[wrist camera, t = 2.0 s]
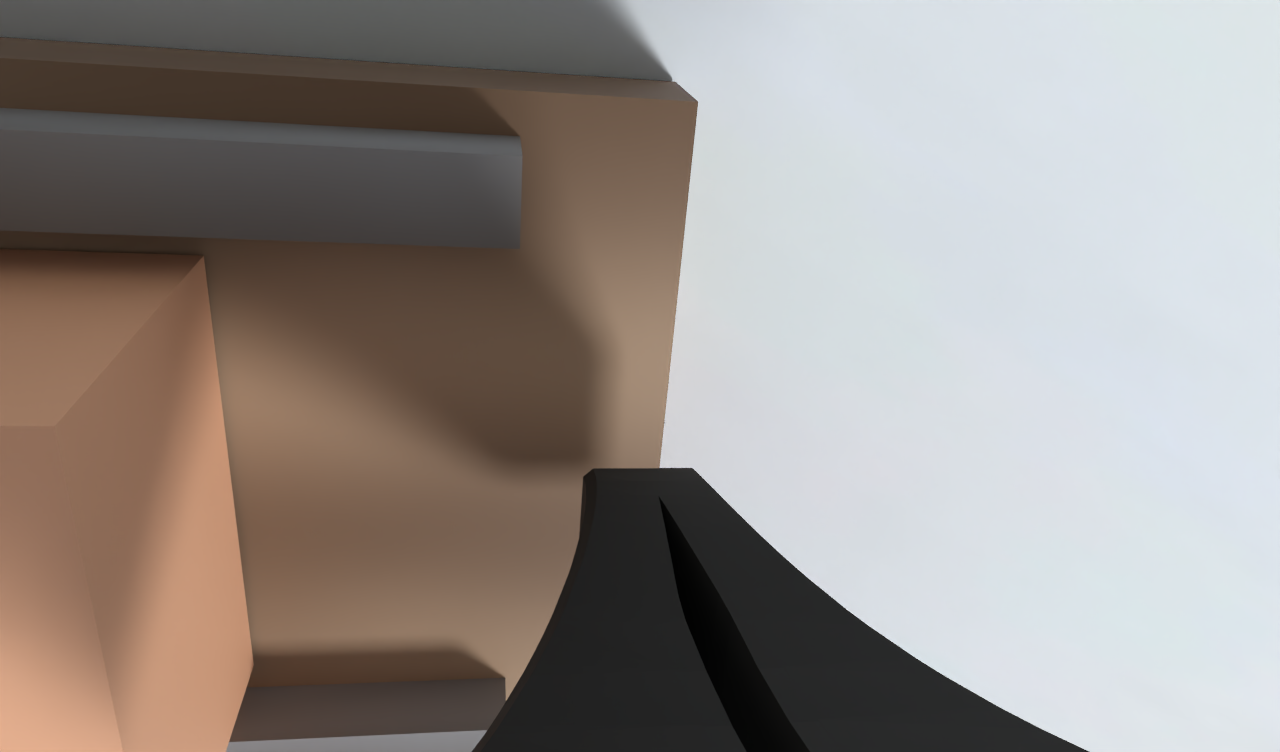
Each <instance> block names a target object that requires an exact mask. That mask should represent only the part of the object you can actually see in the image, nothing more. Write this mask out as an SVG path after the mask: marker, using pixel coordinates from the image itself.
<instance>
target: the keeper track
mask: <svg viewBox="0 0 1280 752" xmlns="http://www.w3.org/2000/svg"><path fill="white" fill-rule="evenodd" d="M697 107H698V101H697V100H695V99H694V98H693V97H692V96H691V95H690V94H689V93H687V92H686V91H685V90H684V89H683V88H682V87H681V86H680V85H678V84H677V83H676V82H671V81H656V80H641V79H626V78H611V77H596V76H580V75H565V74H550V73H535V72H520V71H505V70H490V69H474V68H459V67H444V66H429V65H414V64H399V63H384V62H369V61H353V60H338V59H323V58H308V57H293V56H278V55H263V54H247V53H232V52H217V51H202V50H187V49H172V48H157V47H141V46H126V45H111V44H96V43H81V42H66V41H51V40H35V39H20V38H5V37H0V249H19V250H49V251H80V252H111V253H141V254H172V255H202V256H204V262H205V270H206V279H207V287H208V295H209V303H210V311H211V319H212V328H213V336H214V344H215V352H216V360H217V368H218V377H219V385H220V393H221V401H222V409H223V417H224V426H225V434H226V442H227V450H228V458H229V467H230V475H231V483H232V491H233V499H234V507H235V516H236V524H237V532H238V540H239V548H240V556H241V565H242V573H243V581H244V589H245V597H246V605H247V614H248V622H249V630H250V638H251V646H252V654H253V663H254V666H253V669H252V672H251V675H250V678H249V682H248V685H247V688H246V691H245V694H244V697H243V700H242V703H241V706H240V709H239V712H238V716H237V719H236V722H235V725H234V728H233V731H232V734H231V737H230V740H229V743H228V746H227V750H226V752H472V750H473V749H474V748H475V747H476V745H477V744H478V743H479V741H480V740H481V739H482V737H483V736H484V734H485V733H486V731H487V730H488V729H489V727H490V726H491V724H492V723H493V721H494V719H495V718H496V716H497V715H498V713H499V712H500V710H501V709H502V707H503V705H504V704H505V702H506V700H507V699H508V697H509V695H510V694H511V692H512V691H513V689H514V687H515V686H516V684H517V682H518V681H519V679H520V677H521V676H522V674H523V672H524V670H525V669H526V667H527V665H528V663H529V661H530V659H531V657H532V655H533V654H534V652H535V650H536V648H537V646H538V644H539V642H540V640H541V638H542V636H543V634H544V632H545V630H546V627H547V625H548V623H549V621H550V619H551V617H552V614H553V612H554V609H555V607H556V604H557V602H558V599H559V597H560V594H561V592H562V589H563V587H564V584H565V582H566V579H567V576H568V574H569V571H570V568H571V565H572V562H573V558H574V555H575V551H576V548H577V544H578V540H579V532H580V517H581V502H582V486H583V476H585V475H586V474H587V473H588V472H589V471H591V470H592V469H593V468H659V466H660V456H661V447H662V437H663V428H664V418H665V409H666V399H667V390H668V381H669V371H670V362H671V352H672V343H673V333H674V324H675V314H676V305H677V296H678V286H679V277H680V267H681V258H682V248H683V239H684V229H685V220H686V211H687V201H688V192H689V182H690V173H691V163H692V154H693V144H694V135H695V126H696V116H697Z"/></svg>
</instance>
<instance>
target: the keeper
mask: <svg viewBox="0 0 1280 752" xmlns="http://www.w3.org/2000/svg"><path fill="white" fill-rule="evenodd" d="M253 666H254V663H253V654H252V646H251V638H250V630H249V622H248V614H247V605H246V597H245V589H244V581H243V573H242V565H241V556H240V548H239V540H238V532H237V524H236V516H235V507H234V499H233V491H232V483H231V475H230V467H229V458H228V450H227V442H226V434H225V426H224V417H223V409H222V401H221V393H220V385H219V377H218V368H217V360H216V352H215V344H214V336H213V328H212V319H211V311H210V303H209V295H208V287H207V279H206V270H205V262H204V256H202V255H172V254H141V253H111V252H80V251H49V250H19V249H0V752H226V750H227V746H228V743H229V740H230V737H231V734H232V731H233V728H234V725H235V722H236V719H237V716H238V712H239V709H240V706H241V703H242V700H243V697H244V694H245V691H246V688H247V685H248V682H249V678H250V675H251V672H252V669H253Z"/></svg>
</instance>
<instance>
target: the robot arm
mask: <svg viewBox="0 0 1280 752" xmlns="http://www.w3.org/2000/svg"><path fill="white" fill-rule="evenodd" d="M472 752H1089V751H1086V750H1084V749H1082V748H1080V747H1078V746H1076V745H1074V744H1072V743H1069V742H1067V741H1065V740H1063V739H1061V738H1059V737H1057V736H1055V735H1053V734H1050V733H1048V732H1046V731H1044V730H1042V729H1040V728H1038V727H1036V726H1034V725H1032V724H1030V723H1028V722H1026V721H1024V720H1023V719H1021V718H1019V717H1017V716H1015V715H1013V714H1011V713H1009V712H1007V711H1005V710H1003V709H1001V708H999V707H998V706H996V705H994V704H992V703H991V702H989V701H987V700H985V699H984V698H982V697H980V696H978V695H977V694H975V693H973V692H971V691H970V690H968V689H966V688H964V687H963V686H961V685H959V684H957V683H956V682H954V681H952V680H950V679H949V678H947V677H945V676H943V675H942V674H940V673H939V672H937V671H935V670H934V669H932V668H931V667H929V666H927V665H926V664H924V663H922V662H921V661H919V660H918V659H916V658H915V657H913V656H912V655H910V654H909V653H907V652H906V651H904V650H903V649H901V648H900V647H898V646H897V645H896V644H894V643H893V642H891V641H890V640H888V639H887V638H885V637H884V636H882V635H881V634H879V633H878V632H877V631H875V630H874V629H872V628H871V627H869V626H868V625H866V624H865V623H864V622H862V621H861V620H860V619H858V618H857V617H856V616H854V615H853V614H852V613H850V612H849V611H848V610H846V609H845V608H844V607H843V606H841V605H840V604H839V603H838V602H836V601H835V600H834V599H833V598H832V597H830V596H829V595H828V594H827V593H825V592H824V591H823V590H822V589H820V588H819V587H818V586H817V585H816V584H814V583H813V582H812V581H811V580H809V579H808V578H807V577H806V576H805V575H804V574H802V573H801V572H800V571H799V570H798V569H797V568H795V567H794V566H793V565H792V564H791V563H790V562H789V561H788V560H786V559H785V558H784V557H783V556H782V555H781V554H780V553H779V552H778V551H776V550H775V549H774V548H773V547H772V546H771V545H770V544H769V543H768V542H767V541H766V540H765V539H764V538H763V537H761V536H760V535H759V534H758V533H757V532H756V531H755V530H754V529H753V528H752V527H751V526H750V525H749V524H748V523H747V522H746V521H745V520H744V519H743V518H742V517H741V516H740V515H739V514H738V513H737V512H736V511H735V510H734V509H733V508H732V507H731V506H730V505H729V504H728V503H727V502H726V501H725V500H724V499H723V498H722V497H721V496H720V495H719V494H718V493H717V492H716V491H715V490H714V489H713V488H712V487H711V486H710V485H709V484H708V483H707V482H706V481H705V480H704V479H703V478H702V477H701V476H700V475H699V474H698V473H697V472H696V471H695V470H694V469H693V468H593V469H592V470H591V471H589V472H588V473H587V474H586V475H585V476H583V486H582V502H581V517H580V532H579V540H578V544H577V548H576V551H575V555H574V558H573V562H572V565H571V568H570V571H569V574H568V576H567V579H566V582H565V584H564V587H563V589H562V592H561V594H560V597H559V599H558V602H557V604H556V607H555V609H554V612H553V614H552V617H551V619H550V621H549V623H548V625H547V627H546V630H545V632H544V634H543V636H542V638H541V640H540V642H539V644H538V646H537V648H536V650H535V652H534V654H533V655H532V657H531V659H530V661H529V663H528V665H527V667H526V669H525V670H524V672H523V674H522V676H521V677H520V679H519V681H518V682H517V684H516V686H515V687H514V689H513V691H512V692H511V694H510V695H509V697H508V699H507V700H506V702H505V704H504V705H503V707H502V709H501V710H500V712H499V713H498V715H497V716H496V718H495V719H494V721H493V723H492V724H491V726H490V727H489V729H488V730H487V731H486V733H485V734H484V736H483V737H482V739H481V740H480V741H479V743H478V744H477V745H476V747H475V748H474V749H473V750H472Z"/></svg>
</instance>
